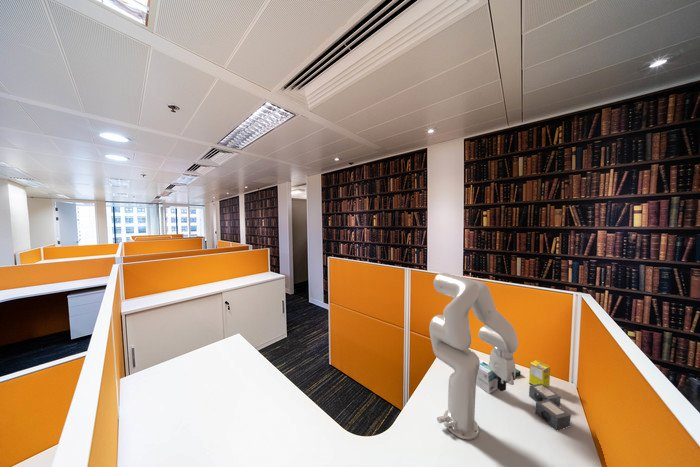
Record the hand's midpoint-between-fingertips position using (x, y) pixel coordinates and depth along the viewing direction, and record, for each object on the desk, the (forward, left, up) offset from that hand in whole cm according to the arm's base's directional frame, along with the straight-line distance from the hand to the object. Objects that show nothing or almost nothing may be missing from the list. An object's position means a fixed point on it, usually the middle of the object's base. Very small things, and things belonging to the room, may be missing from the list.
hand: (501, 389), depth 104 cm
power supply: (+16, -7, -4) cm, 18 cm away
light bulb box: (-2, +8, -3) cm, 9 cm away
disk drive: (+15, +14, -4) cm, 21 cm away
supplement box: (+24, +1, -4) cm, 25 cm away
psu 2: (+9, -15, -4) cm, 18 cm away
